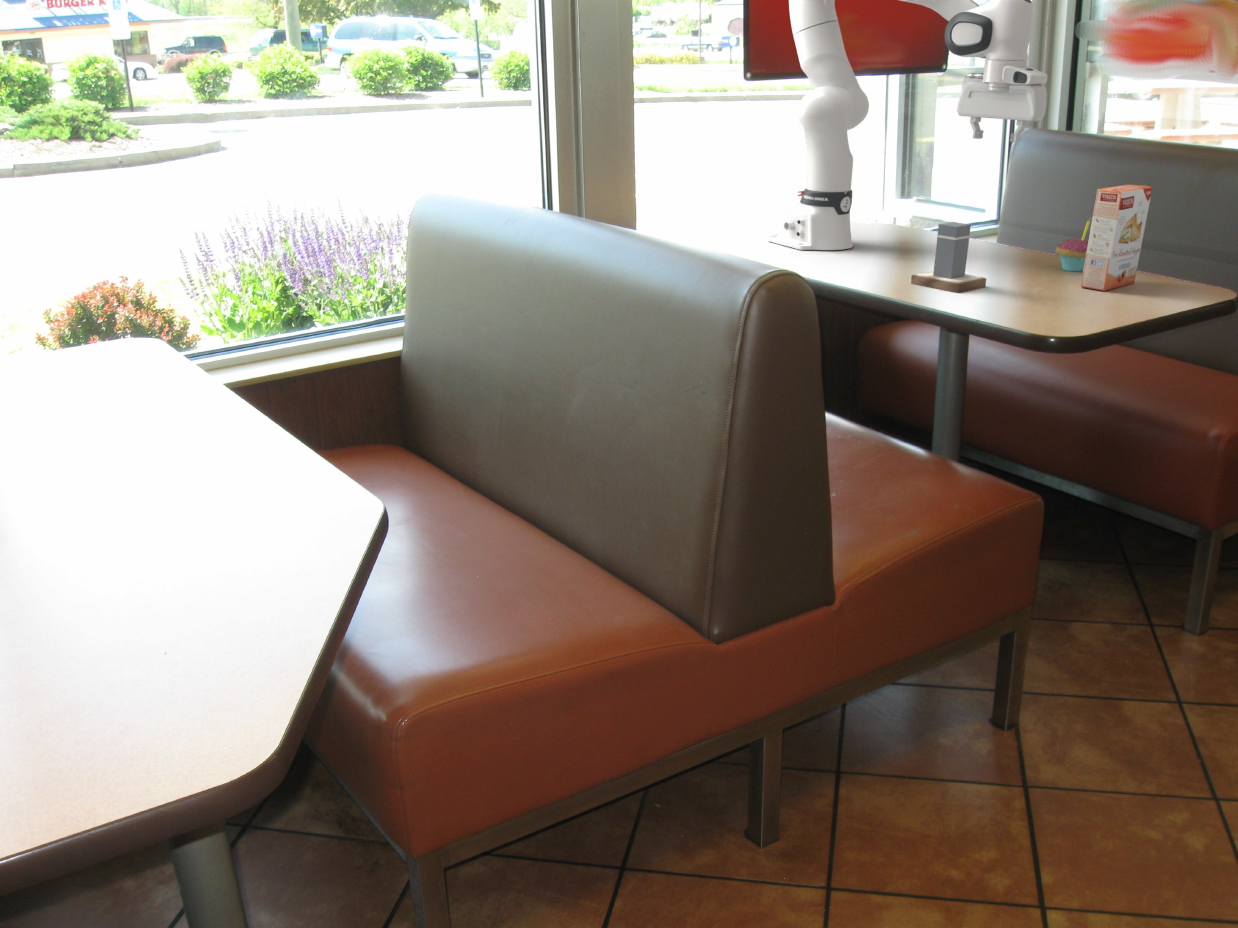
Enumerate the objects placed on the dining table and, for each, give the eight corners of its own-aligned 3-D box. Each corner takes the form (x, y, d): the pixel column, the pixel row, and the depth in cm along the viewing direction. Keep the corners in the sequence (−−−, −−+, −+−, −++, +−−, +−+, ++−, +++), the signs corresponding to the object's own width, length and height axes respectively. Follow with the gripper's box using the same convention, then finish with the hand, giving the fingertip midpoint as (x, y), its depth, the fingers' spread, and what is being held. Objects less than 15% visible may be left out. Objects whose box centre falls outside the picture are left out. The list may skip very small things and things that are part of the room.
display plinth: (910, 283, 239) (911, 274, 238) (938, 277, 245) (939, 268, 244) (957, 293, 230) (958, 283, 230) (985, 286, 236) (986, 277, 236)
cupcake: (1086, 266, 257) (1094, 215, 253) (1097, 274, 249) (1106, 220, 245) (1049, 266, 258) (1056, 214, 254) (1058, 273, 250) (1066, 220, 246)
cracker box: (1106, 292, 231) (1123, 191, 224) (1079, 288, 235) (1094, 188, 228) (1137, 283, 240) (1154, 185, 232) (1110, 279, 244) (1126, 183, 236)
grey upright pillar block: (932, 275, 237) (938, 224, 233) (947, 272, 240) (952, 222, 236) (950, 279, 234) (956, 227, 230) (965, 276, 237) (971, 224, 233)
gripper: (955, 73, 244) (947, 137, 249) (1038, 76, 230) (1028, 144, 235) (972, 72, 248) (964, 136, 253) (1054, 76, 233) (1044, 143, 238)
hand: (995, 140), depth 244 cm, fingers open, 8 cm apart
